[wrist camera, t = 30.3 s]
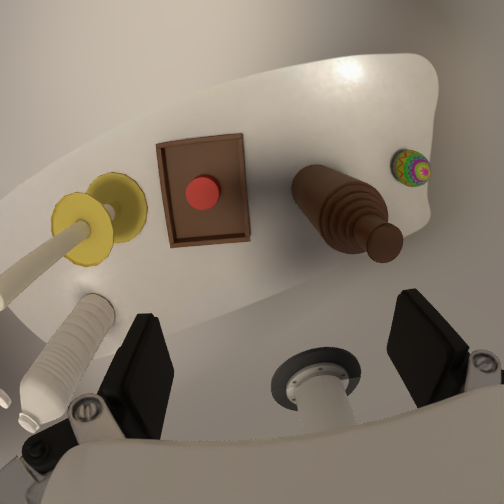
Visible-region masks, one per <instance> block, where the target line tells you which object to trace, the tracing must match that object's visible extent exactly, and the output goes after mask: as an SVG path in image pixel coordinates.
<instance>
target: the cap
mask: <svg viewBox="0 0 504 504" xmlns="http://www.w3.org/2000/svg"><path fill="white" fill-rule="evenodd" d="M220 191H221V188H220V184H219V182H218V181H217V179H215V178H214V177H213V176H211V175H206V174H204V175H199V176H197V177H196V178H195V179H193V180H192V181H191V182H190V183H189V185H188V186H187V189H186V198H187V201H188V202H189V204H190V205H191V206H192V207H194V208H195V209H198V210H207V209H210V208H211V207H213V206H214V205H215V204H216V202H217V201H218V198H219V195H220Z"/></svg>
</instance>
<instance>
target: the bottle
mask: <svg viewBox="0 0 504 504" xmlns="http://www.w3.org/2000/svg"><path fill="white" fill-rule="evenodd" d="M292 196H293V199H294V201H295V203H296V204H297V205H298V207H299V208H300V209H301V210H302V212H303V213H304V214H305V216H306V217H307V218H308V219H309V221H310V222H311V223H312V225H313V226H314V227H315V229H316V230H317V231H318V232H319V234H320V235H321V236H322V238H323V239H324V240H325V242H326V243H327V244H328V245H329V246H330V247H332V248H333V249H335V250H337V251H339V252H343V253H347V254H359V253H363V252H365V251H366V252H367V253H368V255H369V257H370V258H371V259H372V260H374V261H376V262H379V263H387V262H390V261H392V260H394V259H395V258H396V257H397V256H398V255H399V253H400V251H401V249H402V245H403V235H402V233H401V231H400V230H399V229H398V228H397V227H396V226H394V225H393V224H390V223H388V210H387V206H386V204H385V201H384V200H383V198H382V196H381V195H380V193H379V192H378V191H377V190H376V189H375V188H374V187H372V186H371V185H369V184H367V183H365V182H362V181H360V180H357V179H355V178H353V177H350V176H348V175H345V174H343V173H340V172H338V171H335V170H333V169H330V168H328V167H325V166H322V165H310V166H307V167H305V168H303V169H302V170H300V171H299V172H298V173H297V175H296V176H295V178H294V180H293V183H292Z"/></svg>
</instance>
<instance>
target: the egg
mask: <svg viewBox="0 0 504 504" xmlns="http://www.w3.org/2000/svg"><path fill="white" fill-rule="evenodd" d="M393 172H394V174H395V176H396V178H397V179H398V180H399V181H400V182H401V183H402V184H404V185H406V186H410V187H418V186H421V185H423V184H425V183H426V182H427V181H428V180H429V178H430V176H431V166H430V163H429V162H428V160H427V159H426V158H425V157H424V156H423V155H422V154H421V153H419V152H417V151H413V150H406V151H402V152H400V153H399V154H398V155H397V156H396V157H395V159H394V162H393Z"/></svg>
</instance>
